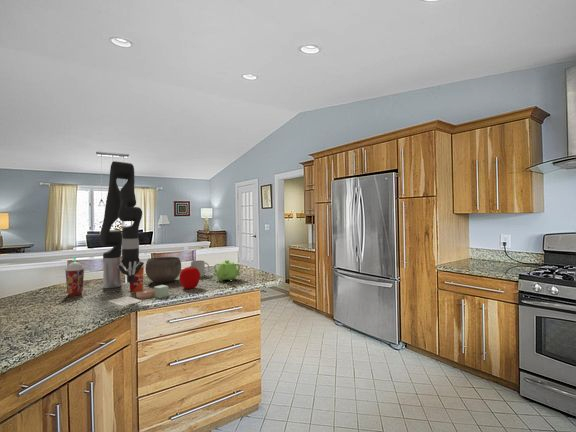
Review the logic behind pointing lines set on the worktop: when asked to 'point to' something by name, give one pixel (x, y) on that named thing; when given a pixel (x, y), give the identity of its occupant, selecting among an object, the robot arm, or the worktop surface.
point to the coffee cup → (137, 281)
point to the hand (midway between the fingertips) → (130, 282)
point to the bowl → (163, 268)
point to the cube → (160, 291)
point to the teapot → (227, 270)
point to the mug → (200, 266)
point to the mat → (124, 300)
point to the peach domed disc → (145, 293)
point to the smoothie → (74, 278)
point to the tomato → (189, 277)
